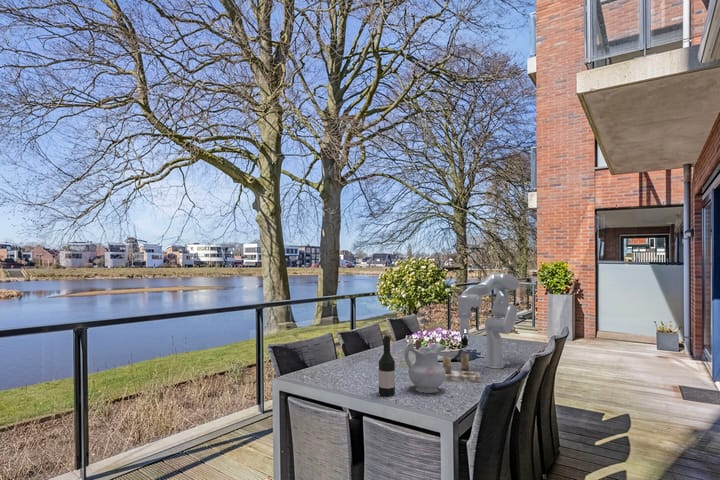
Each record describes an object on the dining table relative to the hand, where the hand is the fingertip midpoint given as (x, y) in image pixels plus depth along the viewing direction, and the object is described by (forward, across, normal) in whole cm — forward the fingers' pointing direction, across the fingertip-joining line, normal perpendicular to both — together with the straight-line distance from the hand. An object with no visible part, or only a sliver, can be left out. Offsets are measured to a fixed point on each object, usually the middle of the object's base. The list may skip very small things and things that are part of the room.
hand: (464, 344), depth 260 cm
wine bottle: (+18, +48, -42) cm, 66 cm away
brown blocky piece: (+18, -5, -26) cm, 32 cm away
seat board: (+18, +11, -4) cm, 21 cm away
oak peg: (+18, 0, 0) cm, 18 cm away
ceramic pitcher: (+18, +37, -23) cm, 47 cm away
